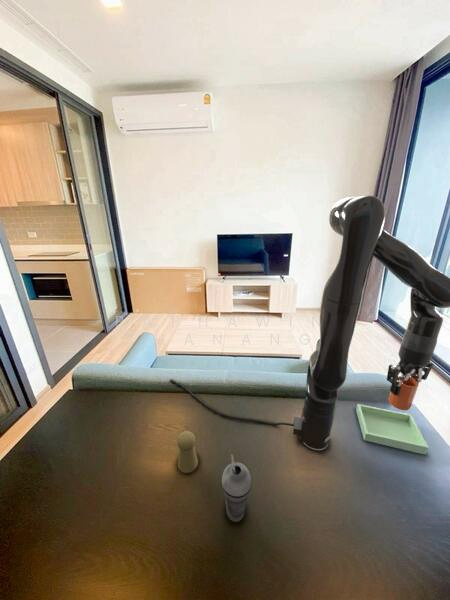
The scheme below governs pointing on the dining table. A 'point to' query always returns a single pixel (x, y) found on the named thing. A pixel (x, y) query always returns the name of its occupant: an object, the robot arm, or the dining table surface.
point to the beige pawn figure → (187, 452)
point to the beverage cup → (236, 489)
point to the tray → (390, 429)
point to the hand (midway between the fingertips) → (402, 391)
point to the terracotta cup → (404, 394)
